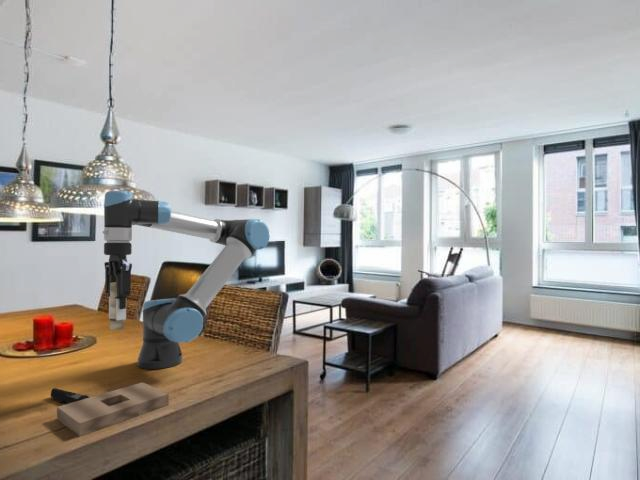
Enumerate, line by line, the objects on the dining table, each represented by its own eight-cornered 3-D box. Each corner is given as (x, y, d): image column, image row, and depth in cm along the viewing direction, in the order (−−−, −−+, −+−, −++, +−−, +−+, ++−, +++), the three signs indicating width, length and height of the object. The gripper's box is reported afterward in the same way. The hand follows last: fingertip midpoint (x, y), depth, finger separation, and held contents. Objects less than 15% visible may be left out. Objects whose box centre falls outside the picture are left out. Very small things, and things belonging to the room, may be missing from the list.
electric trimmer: (60, 396, 115) (60, 385, 115) (94, 405, 108) (94, 394, 108) (46, 401, 112) (46, 389, 112) (81, 411, 105) (81, 399, 105)
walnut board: (142, 392, 117) (142, 382, 117) (168, 405, 108) (168, 394, 108) (57, 418, 100) (57, 406, 99) (79, 436, 91) (79, 423, 91)
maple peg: (121, 326, 124) (121, 281, 124) (127, 328, 122) (127, 282, 122) (107, 328, 121) (107, 282, 121) (113, 330, 118) (113, 283, 118)
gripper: (93, 241, 124) (92, 316, 124) (117, 242, 113) (117, 324, 113) (118, 241, 130) (117, 313, 130) (143, 242, 119) (143, 320, 119)
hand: (117, 318), depth 121 cm, fingers closed on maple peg, 4 cm apart
